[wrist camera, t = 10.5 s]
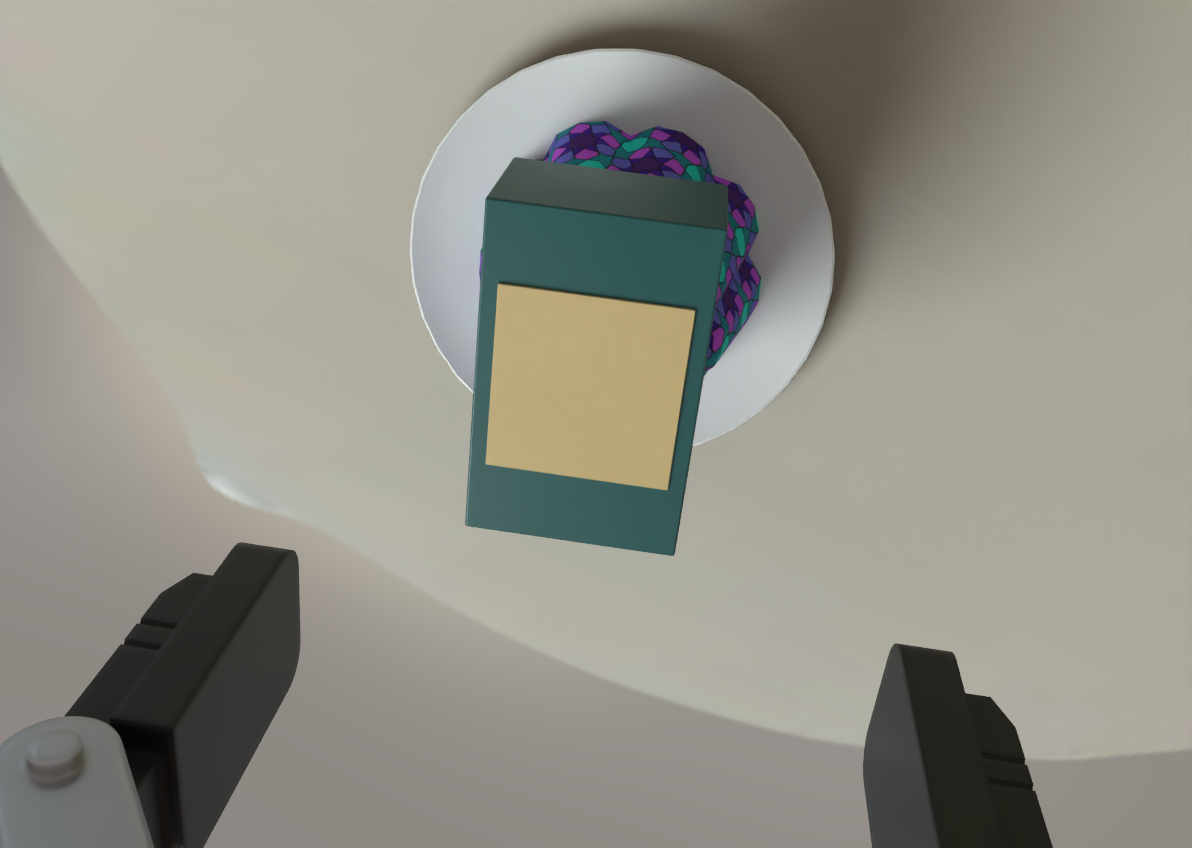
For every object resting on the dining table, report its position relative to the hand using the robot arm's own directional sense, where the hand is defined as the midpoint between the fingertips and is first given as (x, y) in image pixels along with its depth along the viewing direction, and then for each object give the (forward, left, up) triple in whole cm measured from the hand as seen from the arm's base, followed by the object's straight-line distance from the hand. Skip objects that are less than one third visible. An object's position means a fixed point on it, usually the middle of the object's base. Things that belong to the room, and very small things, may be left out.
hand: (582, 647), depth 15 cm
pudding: (+1, +1, -19) cm, 19 cm away
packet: (+1, +1, -14) cm, 14 cm away
